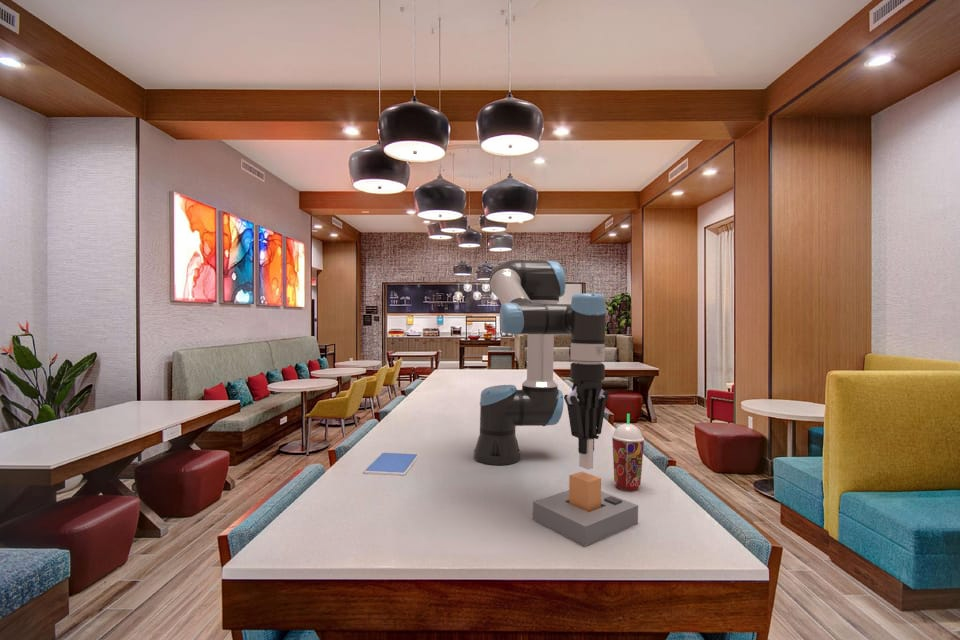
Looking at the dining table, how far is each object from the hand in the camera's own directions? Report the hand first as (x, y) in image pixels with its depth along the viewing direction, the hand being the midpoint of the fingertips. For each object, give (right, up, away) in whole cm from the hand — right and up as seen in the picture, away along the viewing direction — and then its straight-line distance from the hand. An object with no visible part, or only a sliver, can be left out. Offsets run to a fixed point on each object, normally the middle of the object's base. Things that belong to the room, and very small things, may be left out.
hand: (586, 467), depth 101 cm
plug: (0, -12, 0) cm, 12 cm away
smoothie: (+16, -13, +21) cm, 30 cm away
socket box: (0, -12, 0) cm, 12 cm away
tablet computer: (-51, -12, +38) cm, 64 cm away
